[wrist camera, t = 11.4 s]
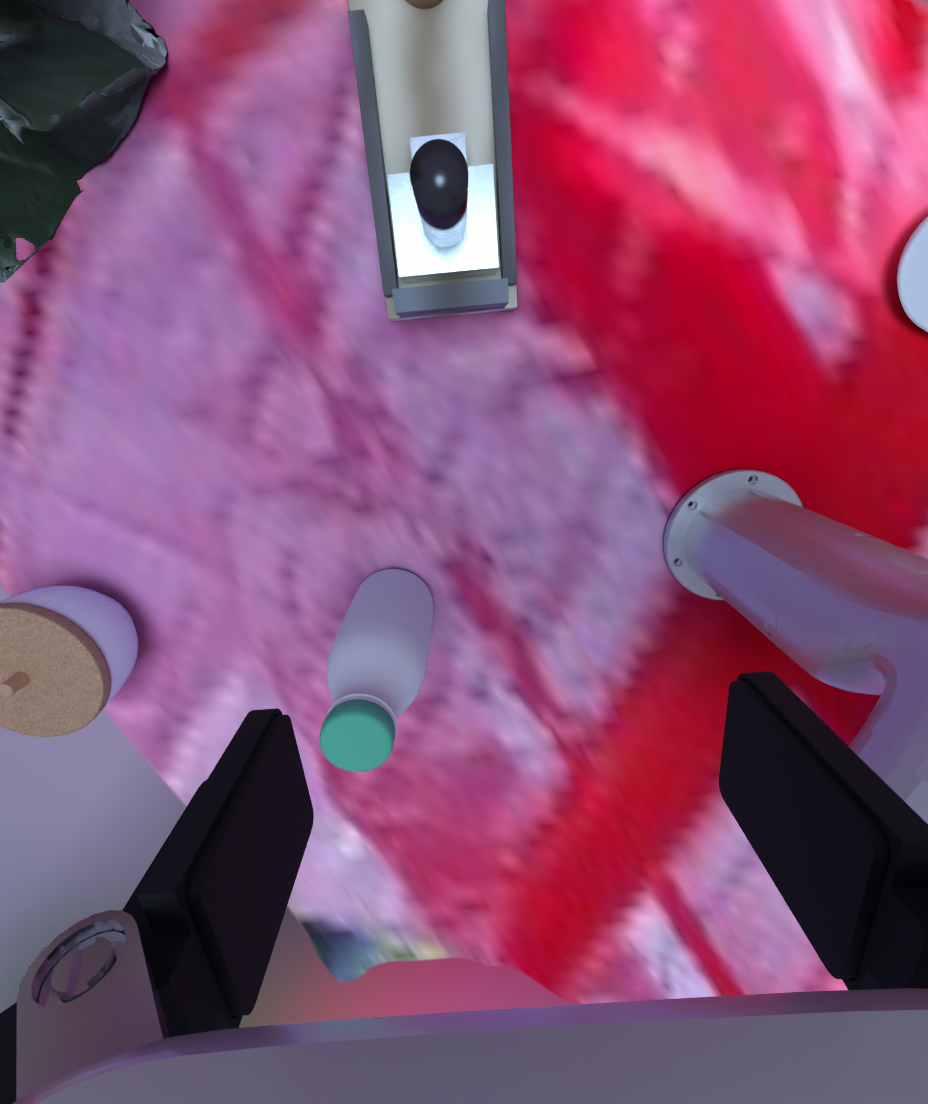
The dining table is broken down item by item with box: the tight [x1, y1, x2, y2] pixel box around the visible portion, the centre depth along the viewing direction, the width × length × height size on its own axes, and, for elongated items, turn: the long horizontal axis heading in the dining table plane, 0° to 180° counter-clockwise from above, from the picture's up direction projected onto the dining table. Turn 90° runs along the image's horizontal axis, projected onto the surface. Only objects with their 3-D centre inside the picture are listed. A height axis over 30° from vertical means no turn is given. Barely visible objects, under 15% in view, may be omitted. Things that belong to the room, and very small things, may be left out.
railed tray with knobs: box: [348, 0, 517, 321], centre depth 34 cm, size 10×25×6 cm, turn 5°
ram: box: [387, 132, 499, 283], centre depth 31 cm, size 7×8×12 cm
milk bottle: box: [320, 569, 434, 772], centre depth 40 cm, size 8×8×20 cm
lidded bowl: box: [0, 585, 138, 737], centre depth 45 cm, size 13×13×11 cm
